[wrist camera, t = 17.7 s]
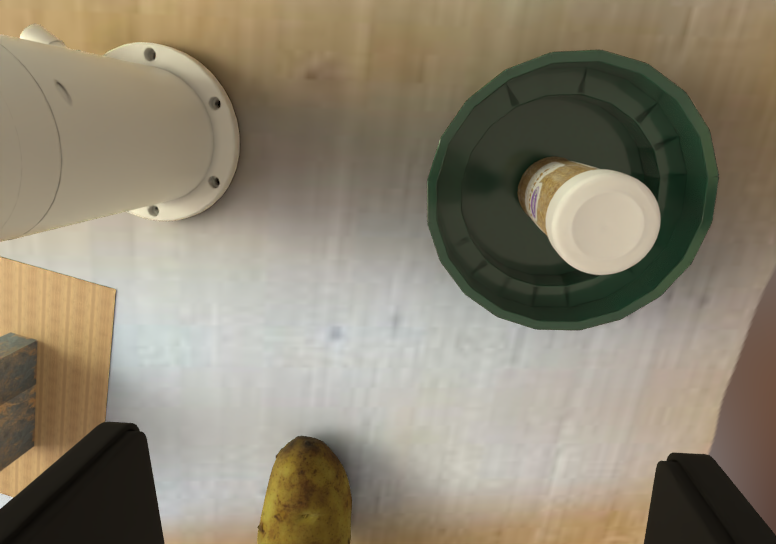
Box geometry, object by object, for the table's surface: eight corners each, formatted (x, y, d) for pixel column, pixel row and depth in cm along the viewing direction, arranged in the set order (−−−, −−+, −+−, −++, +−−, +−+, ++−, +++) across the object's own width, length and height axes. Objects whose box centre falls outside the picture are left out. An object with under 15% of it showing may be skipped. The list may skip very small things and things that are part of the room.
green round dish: (404, 260, 38) (394, 284, 32) (475, 33, 33) (479, 13, 27) (613, 327, 37) (641, 364, 31) (717, 105, 32) (774, 100, 26)
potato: (384, 448, 42) (368, 519, 35) (345, 561, 46) (322, 646, 38) (292, 417, 43) (256, 479, 35) (260, 530, 46) (222, 609, 39)
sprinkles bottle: (511, 165, 34) (544, 185, 21) (580, 149, 33) (658, 161, 20) (522, 229, 35) (560, 286, 22) (590, 215, 34) (669, 266, 22)
